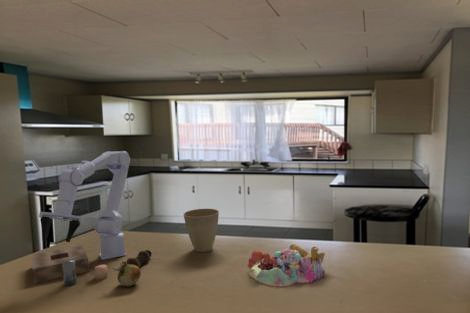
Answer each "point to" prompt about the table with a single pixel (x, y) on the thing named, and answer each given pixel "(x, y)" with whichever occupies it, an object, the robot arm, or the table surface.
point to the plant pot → (202, 228)
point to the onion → (127, 274)
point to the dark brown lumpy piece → (140, 258)
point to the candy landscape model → (286, 266)
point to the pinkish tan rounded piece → (101, 272)
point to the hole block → (58, 263)
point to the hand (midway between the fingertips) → (56, 240)
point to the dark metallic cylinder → (69, 272)
